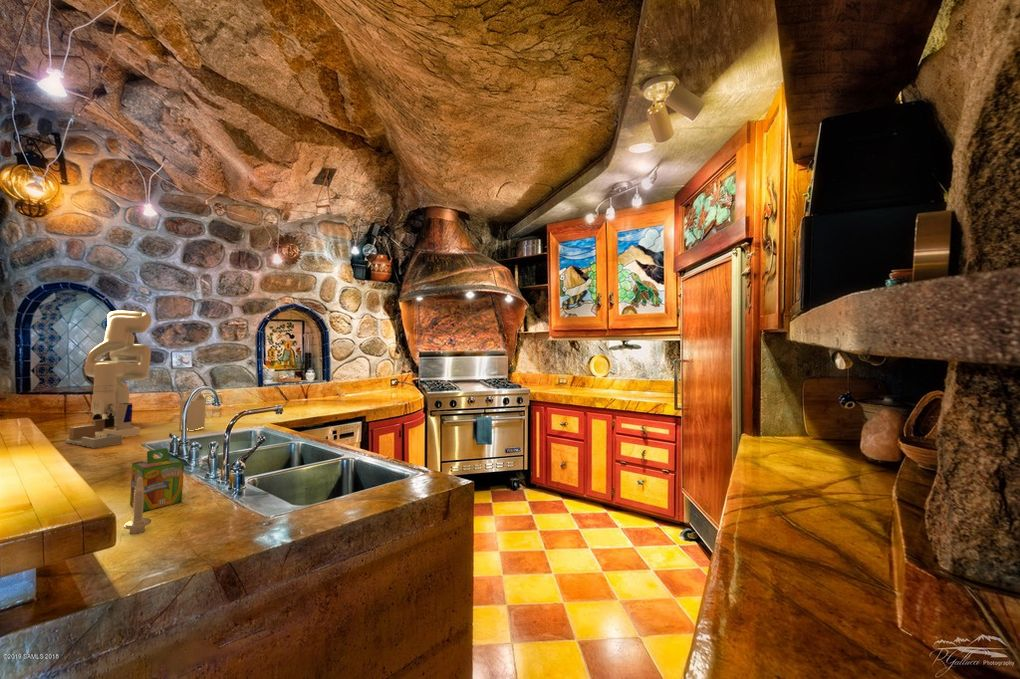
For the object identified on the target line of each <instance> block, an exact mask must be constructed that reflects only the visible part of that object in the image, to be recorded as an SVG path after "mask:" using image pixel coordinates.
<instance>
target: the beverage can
mask: <svg viewBox="0 0 1020 679" xmlns="http://www.w3.org/2000/svg"><path fill="white" fill-rule="evenodd" d="M132 424H133V402H129V403H120V404H117V416H116V426H115V428H116V431H117V430H123V429H130V428H131V426H132Z"/></svg>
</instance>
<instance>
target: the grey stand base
mask: <svg viewBox="0 0 1020 679" xmlns="http://www.w3.org/2000/svg"><path fill="white" fill-rule="evenodd" d="M68 432H69V434H68V439H65V442H66V443H65V444H70V443H72V444H71V445H75V444H77V445H76V446H79V445H82V446H81V447H84V446H87V447H86V448H89V447H91V449H96V448H95V447H98V448H103V447H102V446H104V447H109V446H108V445H110V446H114V444H116V445H120V443H121V444H122V443H123V442H122V441H123V438H122V435H118V434H113V433H107V437H100V436H95V425H92V424H86V425H78V426H69V431H68Z"/></svg>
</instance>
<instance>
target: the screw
mask: <svg viewBox="0 0 1020 679" xmlns="http://www.w3.org/2000/svg"><path fill="white" fill-rule="evenodd" d="M143 489H144V487H143V478H142V477H139V478H137V483H136V489H135V490H134V491H135V493H134V494H135V495H134V496H135V498H134V499H135V500H134V503H133V504H134V507H133V512H132V514H133V515H132V517H133V518H132V520H129V521H127V522H126V523H125V524H124V525H123V528H124V530H125V529H126V530H129V534H130V535H138V534H141V533H144V532H145V530H146V527H147V525H150V524H151V523H152V519H150V518H149V517H144V512H145V511H144V510H143V508H144V507H143V506H144V505H143V504H144V502H143V501H144V500H143V499H144V497H143V496H144V495H143V494H144V492H143V491H145V490H143ZM143 531H144V532H143ZM140 532H141V533H140ZM137 533H138V534H137Z"/></svg>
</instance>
